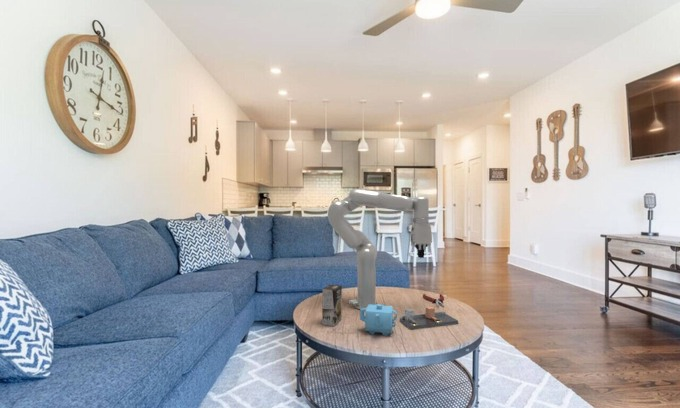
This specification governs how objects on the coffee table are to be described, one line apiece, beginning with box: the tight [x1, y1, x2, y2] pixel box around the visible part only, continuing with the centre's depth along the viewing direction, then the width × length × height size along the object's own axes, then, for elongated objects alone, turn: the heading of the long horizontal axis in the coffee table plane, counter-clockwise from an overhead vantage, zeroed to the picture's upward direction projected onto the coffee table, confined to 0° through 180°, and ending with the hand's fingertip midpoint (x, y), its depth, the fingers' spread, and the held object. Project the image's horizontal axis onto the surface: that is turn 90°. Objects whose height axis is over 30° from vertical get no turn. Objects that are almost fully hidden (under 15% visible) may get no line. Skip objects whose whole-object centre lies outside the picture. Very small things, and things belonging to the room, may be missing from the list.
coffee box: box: [321, 284, 343, 327], centre depth 143 cm, size 9×6×16 cm
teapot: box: [359, 303, 398, 337], centre depth 132 cm, size 16×18×11 cm
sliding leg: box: [424, 306, 437, 320], centre depth 142 cm, size 3×6×4 cm, turn 16°
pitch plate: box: [399, 307, 459, 331], centre depth 142 cm, size 24×10×6 cm, turn 106°
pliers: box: [422, 293, 445, 308], centre depth 172 cm, size 12×20×3 cm, turn 177°
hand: (420, 257), depth 158 cm, fingers closed
